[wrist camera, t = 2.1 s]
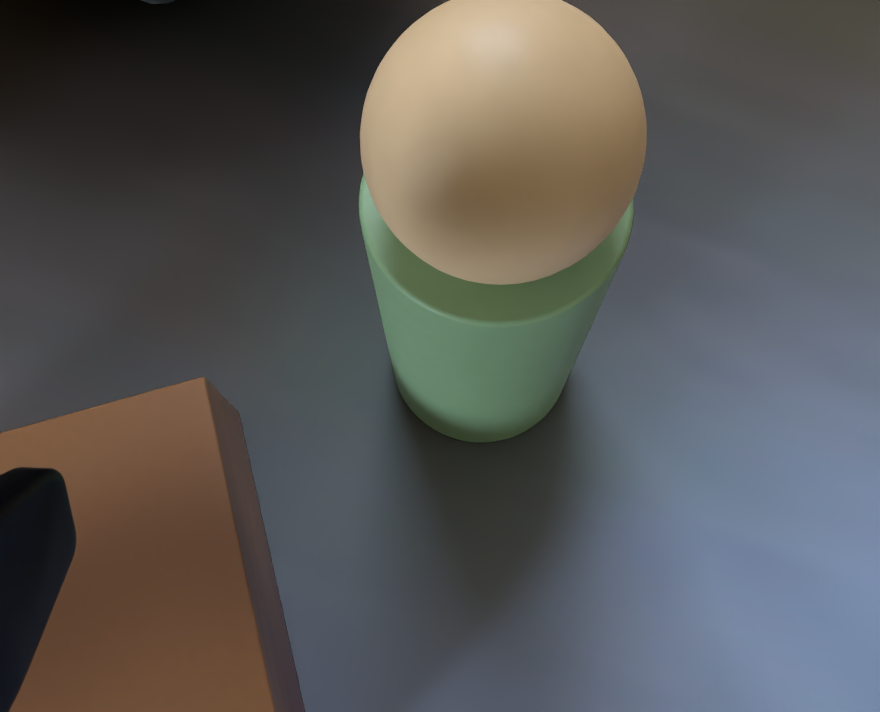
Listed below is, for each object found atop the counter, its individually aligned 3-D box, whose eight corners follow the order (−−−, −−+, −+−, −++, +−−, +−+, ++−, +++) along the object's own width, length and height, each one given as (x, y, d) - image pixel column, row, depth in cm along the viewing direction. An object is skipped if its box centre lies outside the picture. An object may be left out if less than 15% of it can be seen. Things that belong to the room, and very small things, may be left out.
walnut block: (325, 803, 17) (301, 836, 15) (-102, 942, 17) (-215, 1005, 14) (239, 411, 20) (203, 375, 17) (-131, 516, 20) (-230, 495, 17)
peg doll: (597, 403, 20) (767, 132, 9) (432, 471, 20) (407, 269, 9) (523, 254, 21) (596, -136, 11) (367, 313, 21) (275, -31, 10)
